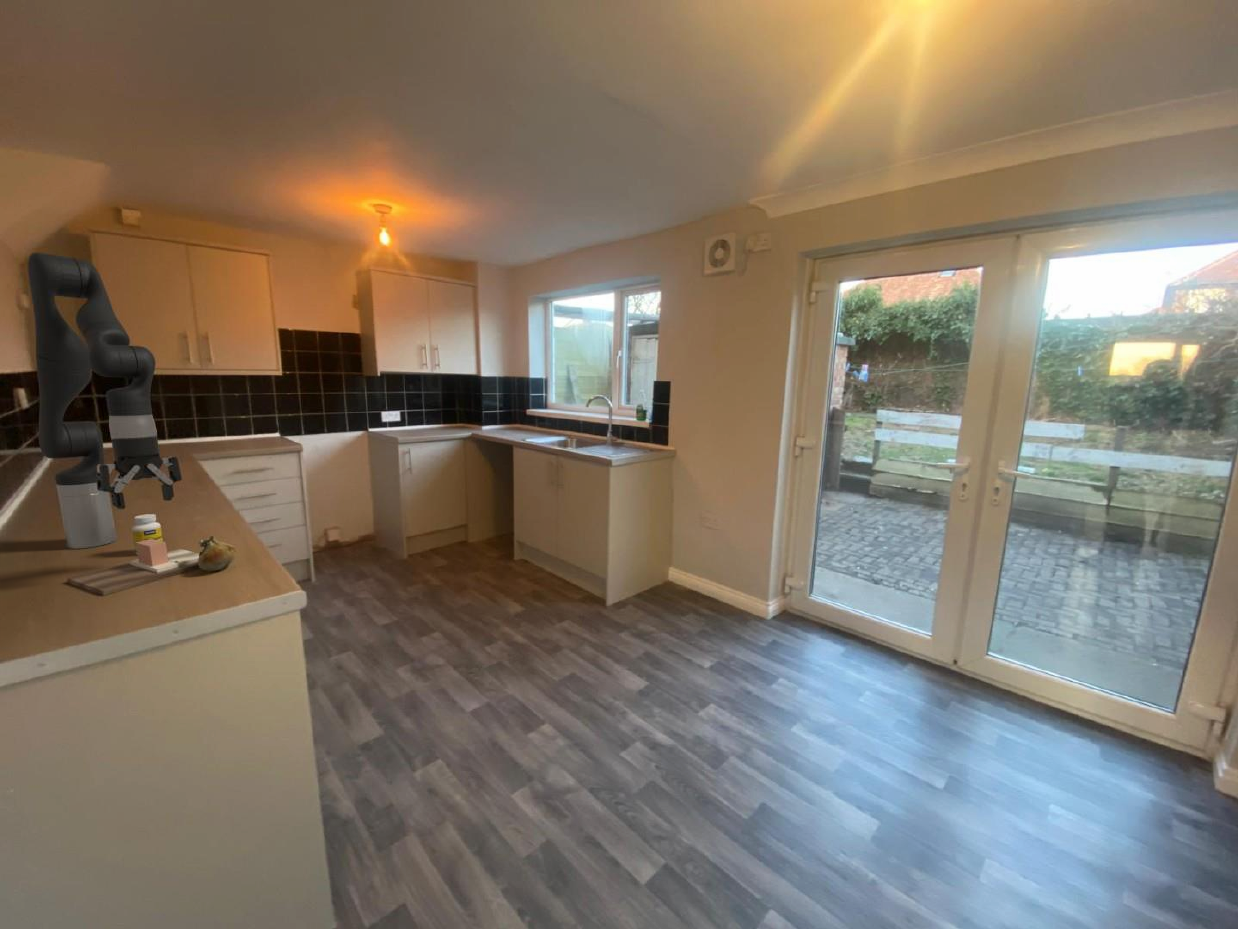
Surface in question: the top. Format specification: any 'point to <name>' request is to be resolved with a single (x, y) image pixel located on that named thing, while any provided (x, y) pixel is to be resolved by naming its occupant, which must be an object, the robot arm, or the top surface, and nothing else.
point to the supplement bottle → (146, 529)
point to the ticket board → (133, 574)
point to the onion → (215, 554)
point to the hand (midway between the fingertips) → (145, 504)
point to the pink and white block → (153, 556)
